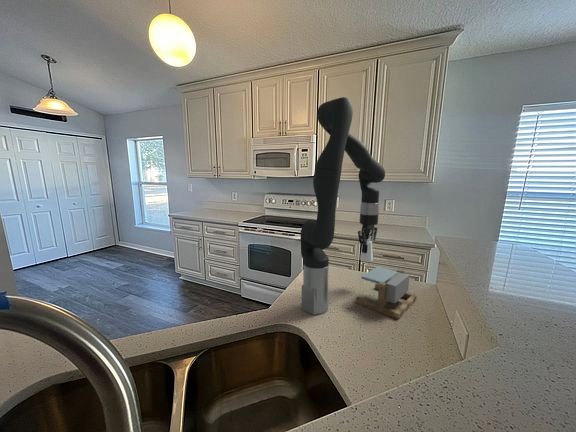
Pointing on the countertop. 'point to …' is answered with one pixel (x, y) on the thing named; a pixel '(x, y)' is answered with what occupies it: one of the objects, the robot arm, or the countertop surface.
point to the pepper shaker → (369, 255)
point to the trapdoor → (389, 282)
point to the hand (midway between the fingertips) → (366, 251)
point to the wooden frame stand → (382, 301)
